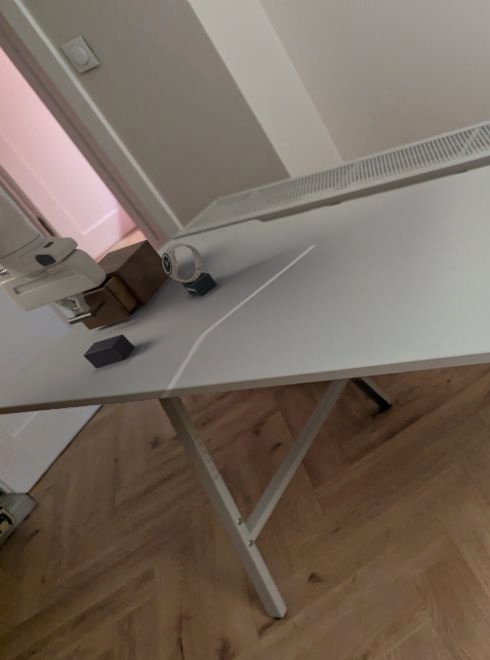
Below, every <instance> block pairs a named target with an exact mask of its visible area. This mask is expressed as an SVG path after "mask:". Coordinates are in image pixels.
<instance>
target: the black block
mask: <svg viewBox="0 0 490 660" xmlns="http://www.w3.org/2000/svg"><path fill="white" fill-rule="evenodd" d="M134 349H135V346H134V345H133V343H131V341H130V340H129V339H128V338H127V337H126V336H125V335H124V334H122V333H121V334H118V335H116V336H112V337H109V338H105V339H102V340H99V341H96V342H93V344H92V345H91V346H90V347H89V348H88V349H87V350H86V352H84V354H83V357H84V358H85V360H87V361H88V362H89V364H91V365H92V366H93V367H94V368H95V369H99V368H102V367H105V366H109V365H112V364H115V363H119V362H123V361H126V360H127V358H128V357H129V356H130V354H131V352H132V351H133V350H134Z"/></svg>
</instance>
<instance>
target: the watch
mask: <svg viewBox="0 0 490 660" xmlns="http://www.w3.org/2000/svg"><path fill="white" fill-rule="evenodd" d="M180 247H187V248H188V249H190V250H191V253H192V257H193V260H194V268H195V272H194V273H192V274H191V275H189V276H188V277H187V278H186V279H180V278H179V274H178V272H179V261H178V259H177V257H176V249H177V248H180ZM161 258H162V266H163V269H164V272H165V273H166V275H168V276H169V277H168V278H171V279H172V280H174V281H177V282H179V283H181V286H183V288H184V289H185V290H186V292H187V293H188V294H189V295H191V296H197V297H203V296H204V295H206V294H207V293H208V292H210V291H211V290H212V289H214V288H216V287H217V286H218V284H217V282H216V281H215V280H214V278H213V277H212V275H211V274H210V273H209V272H204V260H203V258H202V255H201V252H199V250H198V249H197V248H196V247H195V246H193V245H191V244H187V243H175V244H172V245H170V246H169V247H168V248H166V250H165V251H164V252H163V253H162V255H161Z"/></svg>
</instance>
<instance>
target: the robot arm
mask: <svg viewBox="0 0 490 660" xmlns="http://www.w3.org/2000/svg"><path fill="white" fill-rule="evenodd" d="M77 247H79V244H78V242H77V241H76V240H75V239H74V238H72V237H70V236H69V237H50V236H49V237H48V236H47V237H44V236H43V235H42V234H41V233H40V232H39V231H37V230H36V229H34V228H33V227H32V226H31V225H30V224H29V223H27V222H26V220H25V217H24V216H23V214H22V213H21V212H20V211H19V210H18V209H17V207H15V206H14V205H13V204H12V203H11V201H9V200H8V199H7V198H6V197H5V196H4V195H3V194H1V193H0V266H1V267H2V269H0V289H1V290H2V291H3V293H4V294H5V295H6V297H7V298H8V299H9V300H10V301H11V302H12V303H13V304H14V305H15V306H16V307H17V308H18V309H19V310H21V311H23V312H30V311H33V310H36V309H39V308H41V307H44V306H46V305H50V304H53V303H54V304H55V305H57V307H60V308H61V309H65V310H66V311H69V312H70V313H71V314H72V315H73V316H77V315H80V314H83V313H86V312H88V311H89V310H90V307H89V306H88V305H87V304H86V303H85V300H84V296H83V293H82V292H84V291H87V290H89V289H92V288H95V287H98V286H99V285H100V284H101V283H102V282H103V281H104V280H105V279H106V274H105V271H104V270H103V269H102V268H101V267H100V265H99V264H98V262H97V261H96V260H95V259H94V258H93V256H91V255H90V254H89V253H88V252H87V251H85V250H83V249H80V248H77ZM67 299H71V300H72V301H73V300H75V302H76V304H74V303H73V302H71V301H69V300H67Z"/></svg>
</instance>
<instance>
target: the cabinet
mask: <svg viewBox="0 0 490 660" xmlns="http://www.w3.org/2000/svg"><path fill="white" fill-rule="evenodd" d="M157 251H158V250H156V249H155V247H154V246H153V245H152V244H151V242H150V241H149V240H148V239H144V240H141V241H138V242H135V243H132V244H130V245H126V246H124V247H121V248H118V249H115V250H112V251H109V252H107V253H106V254H105V255H104V256H103V257H102V258H101V259H100V260H99V261H98V262H97V263H98V264H99V265H100V267H101V268H102V269H103V270H104V271H105V274H106V277H109V276H112V275H115V274H117V275H118V277H119V278H120V279H121V280H122V281H123V283H124V284H125V285H126V286H127V287H128V288H129V290H130V291H131V292H132V293H133V294H134V295H135V297H136V298H137V299H138V300H139V301H138V302H137V303H136V305H135V306H134V307H133V308H132V309H131V310H133V309H134V310H135V309H136V308H141V307H144V306H146V305H147V304H148V303H149V301H151V299H152V298H153V297H154V295H155V294H156V293H157V292H158V290H159V289H160V288H161V287H162V286H163V285H164V283H165V282H166V281H167V280H168V278H170V277H169V276H168V275H166V273H165V272H164V269H163V266H162V255H160V253H158V252H157Z"/></svg>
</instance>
